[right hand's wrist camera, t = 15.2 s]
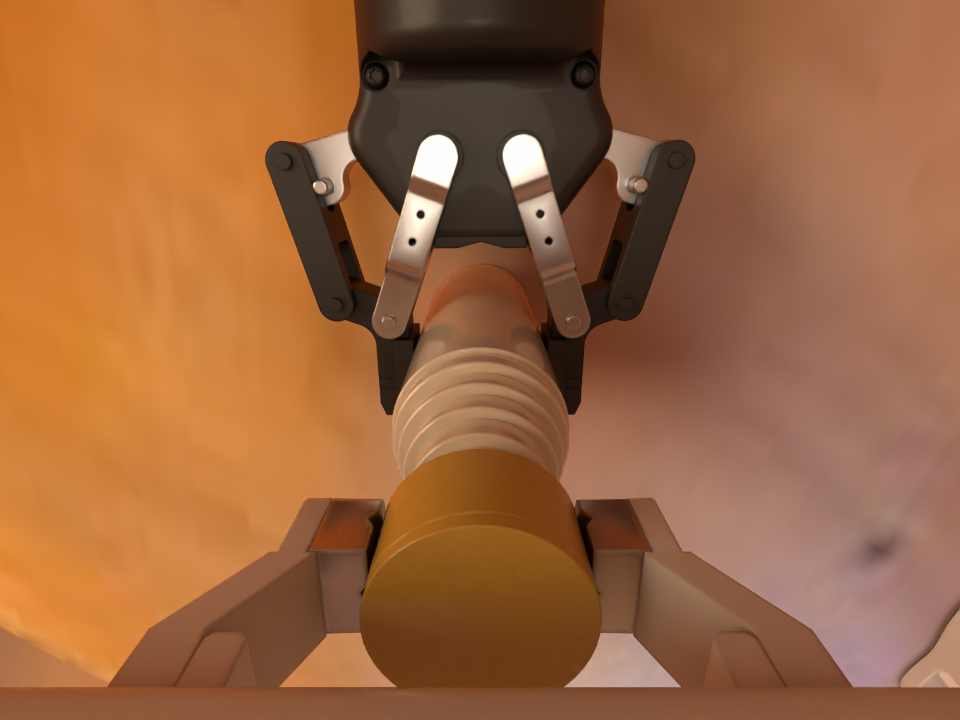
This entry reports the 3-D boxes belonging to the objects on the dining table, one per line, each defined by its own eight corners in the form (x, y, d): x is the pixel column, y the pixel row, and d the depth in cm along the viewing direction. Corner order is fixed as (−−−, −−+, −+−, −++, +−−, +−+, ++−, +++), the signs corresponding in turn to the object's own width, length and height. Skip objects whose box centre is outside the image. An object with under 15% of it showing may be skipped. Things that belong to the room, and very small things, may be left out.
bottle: (533, 266, 25) (648, 482, 8) (526, 361, 27) (608, 711, 10) (431, 262, 25) (324, 471, 8) (430, 357, 27) (340, 703, 10)
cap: (386, 439, 10) (359, 516, 8) (590, 454, 10) (622, 535, 8) (381, 600, 11) (358, 706, 9) (562, 612, 11) (582, 719, 9)
